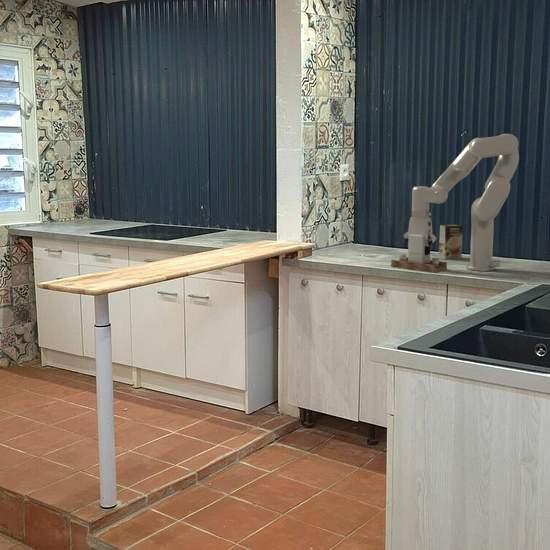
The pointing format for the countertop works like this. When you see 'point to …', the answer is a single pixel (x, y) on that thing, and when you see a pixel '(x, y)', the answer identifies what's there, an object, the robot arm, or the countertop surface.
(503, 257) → the countertop surface
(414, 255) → the supplement box
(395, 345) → the countertop surface
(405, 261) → the brown textured block
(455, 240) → the coffee box
